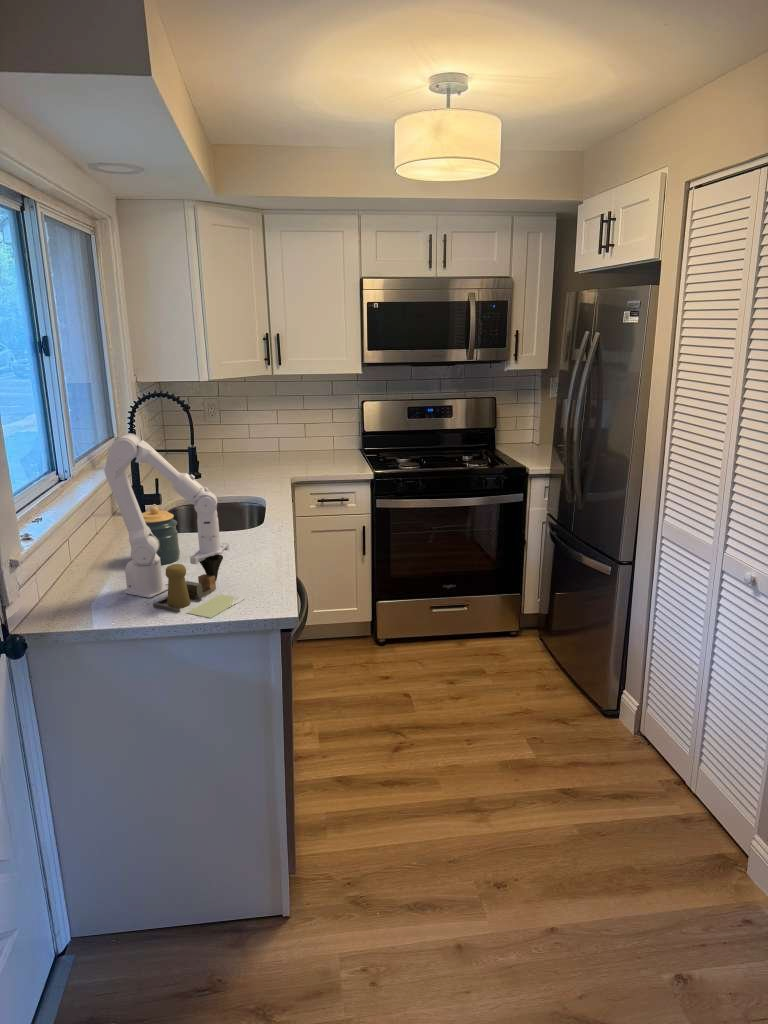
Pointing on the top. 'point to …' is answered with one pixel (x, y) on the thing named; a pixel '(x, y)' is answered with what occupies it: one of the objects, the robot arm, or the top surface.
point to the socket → (197, 597)
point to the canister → (163, 533)
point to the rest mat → (213, 606)
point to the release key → (206, 582)
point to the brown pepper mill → (177, 586)
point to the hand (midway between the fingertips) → (212, 580)
